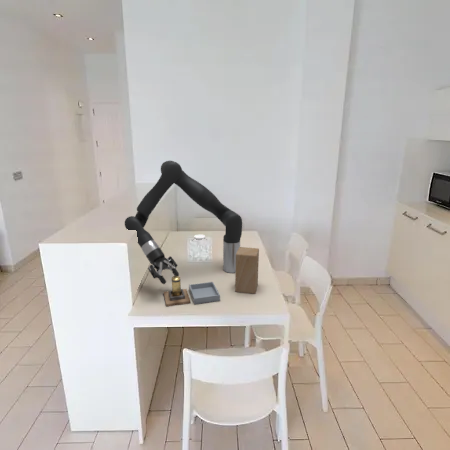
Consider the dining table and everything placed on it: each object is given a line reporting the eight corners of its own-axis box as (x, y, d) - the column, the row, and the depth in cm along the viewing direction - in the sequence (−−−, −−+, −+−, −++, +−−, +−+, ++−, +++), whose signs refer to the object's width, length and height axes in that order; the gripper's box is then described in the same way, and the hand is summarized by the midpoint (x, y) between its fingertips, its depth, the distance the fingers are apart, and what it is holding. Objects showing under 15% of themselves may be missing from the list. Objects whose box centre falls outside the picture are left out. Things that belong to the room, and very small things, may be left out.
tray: (212, 287, 168) (212, 281, 167) (220, 300, 155) (220, 295, 154) (189, 290, 165) (189, 284, 164) (194, 304, 152) (194, 298, 151)
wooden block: (257, 284, 171) (259, 248, 165) (255, 294, 162) (256, 255, 156) (238, 282, 173) (239, 246, 167) (235, 292, 164) (235, 253, 158)
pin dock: (186, 291, 164) (186, 286, 164) (190, 303, 153) (190, 298, 152) (163, 293, 161) (163, 288, 161) (166, 306, 150) (166, 301, 150)
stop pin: (180, 293, 159) (179, 275, 157) (181, 297, 156) (181, 279, 153) (171, 294, 158) (170, 276, 156) (172, 298, 155) (172, 280, 152)
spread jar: (196, 257, 205) (195, 239, 202) (187, 251, 214) (186, 234, 210) (212, 253, 212) (212, 235, 208) (202, 247, 220) (202, 231, 217)
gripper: (144, 252, 151) (164, 282, 148) (167, 243, 162) (185, 270, 160) (137, 260, 156) (156, 289, 153) (159, 251, 167) (177, 278, 164)
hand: (171, 279), depth 156 cm, fingers open, 8 cm apart
